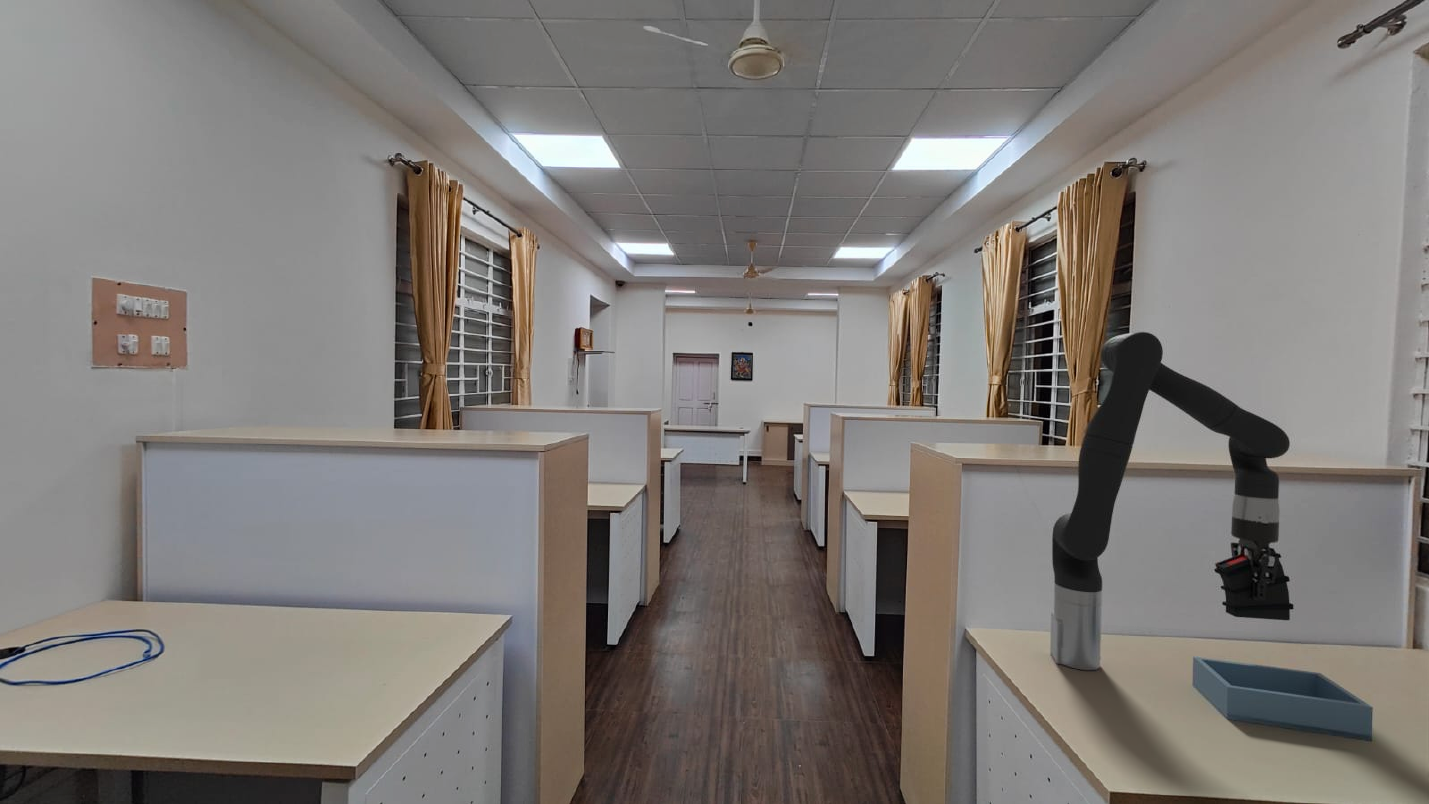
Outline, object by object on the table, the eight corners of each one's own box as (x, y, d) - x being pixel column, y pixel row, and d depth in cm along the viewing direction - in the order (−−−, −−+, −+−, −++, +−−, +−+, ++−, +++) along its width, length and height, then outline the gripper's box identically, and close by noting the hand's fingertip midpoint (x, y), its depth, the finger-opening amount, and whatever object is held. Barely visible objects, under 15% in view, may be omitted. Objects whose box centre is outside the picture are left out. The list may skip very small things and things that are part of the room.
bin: (1226, 718, 111) (1227, 687, 111) (1192, 685, 124) (1193, 656, 124) (1371, 741, 104) (1372, 707, 104) (1319, 703, 118) (1319, 673, 118)
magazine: (1309, 614, 125) (1277, 548, 125) (1246, 637, 126) (1215, 572, 127) (1293, 608, 129) (1263, 544, 129) (1233, 630, 130) (1203, 567, 130)
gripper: (1217, 510, 135) (1214, 584, 136) (1252, 521, 122) (1248, 604, 122) (1257, 513, 133) (1254, 589, 133) (1297, 525, 120) (1294, 610, 120)
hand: (1251, 596), depth 128 cm, fingers closed on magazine, 4 cm apart
